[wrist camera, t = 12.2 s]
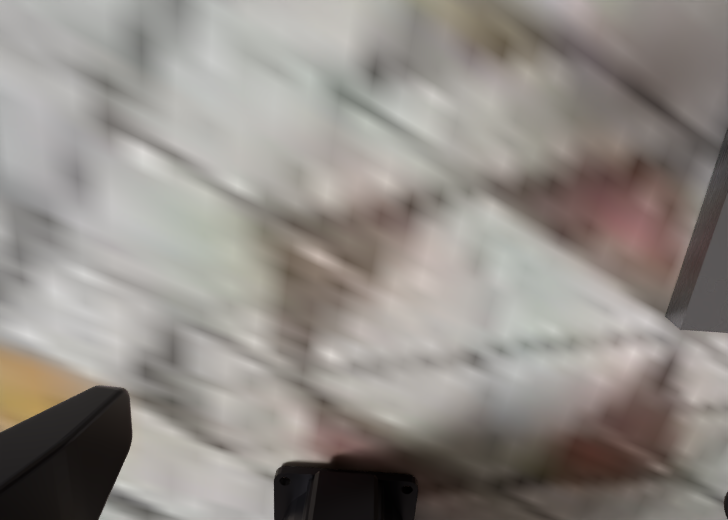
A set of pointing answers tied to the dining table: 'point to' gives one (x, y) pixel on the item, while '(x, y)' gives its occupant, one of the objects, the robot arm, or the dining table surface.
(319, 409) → the dining table surface
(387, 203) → the dining table surface
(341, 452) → the dining table surface
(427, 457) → the dining table surface
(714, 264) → the hub plate
